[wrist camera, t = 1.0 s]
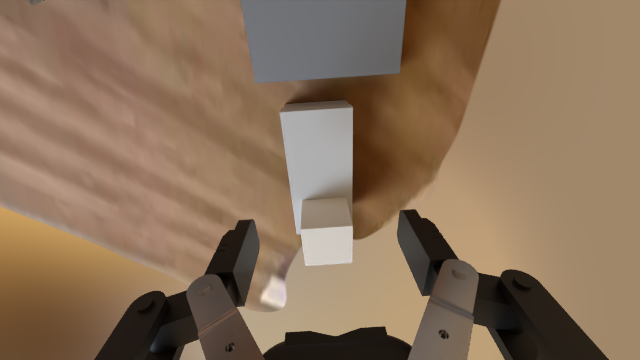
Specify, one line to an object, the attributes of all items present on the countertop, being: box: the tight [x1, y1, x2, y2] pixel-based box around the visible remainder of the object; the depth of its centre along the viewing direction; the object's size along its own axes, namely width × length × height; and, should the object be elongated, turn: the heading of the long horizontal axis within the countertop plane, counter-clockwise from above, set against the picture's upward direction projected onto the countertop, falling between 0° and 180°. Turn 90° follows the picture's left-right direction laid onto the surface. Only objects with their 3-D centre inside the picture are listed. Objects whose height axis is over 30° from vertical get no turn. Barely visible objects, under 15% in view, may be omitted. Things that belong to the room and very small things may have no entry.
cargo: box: [300, 197, 353, 266], centre depth 21 cm, size 4×4×4 cm
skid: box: [280, 100, 353, 234], centre depth 23 cm, size 12×6×4 cm, turn 3°
